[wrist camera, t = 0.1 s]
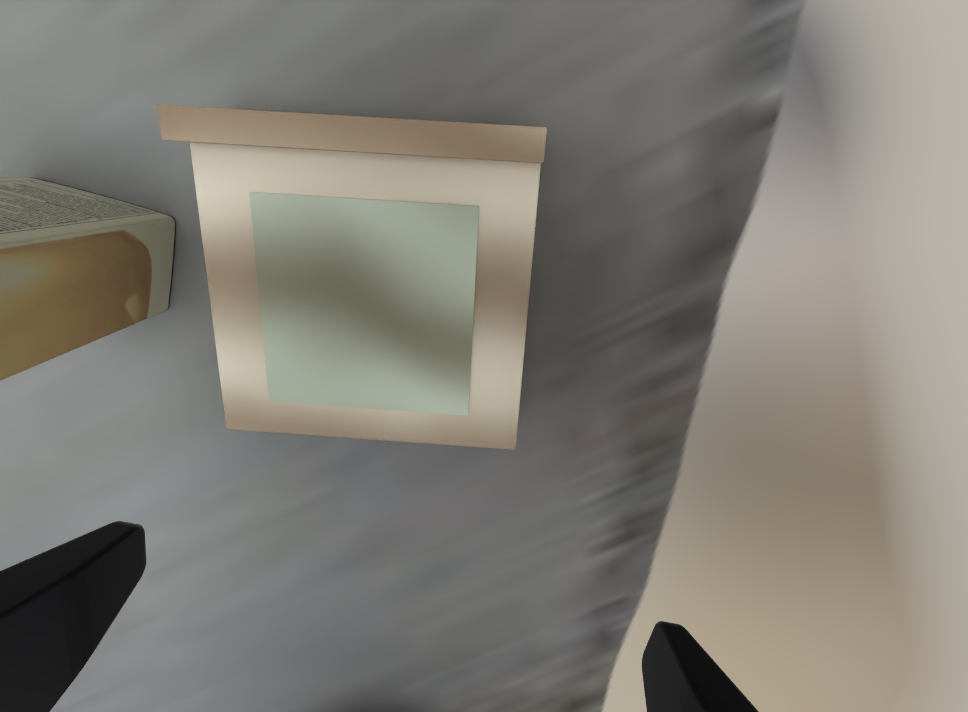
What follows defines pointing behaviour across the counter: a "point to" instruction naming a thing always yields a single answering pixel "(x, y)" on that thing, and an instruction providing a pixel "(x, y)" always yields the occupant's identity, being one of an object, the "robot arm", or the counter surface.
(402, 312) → the stand
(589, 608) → the counter surface
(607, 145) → the counter surface
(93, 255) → the skincare box
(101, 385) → the counter surface
